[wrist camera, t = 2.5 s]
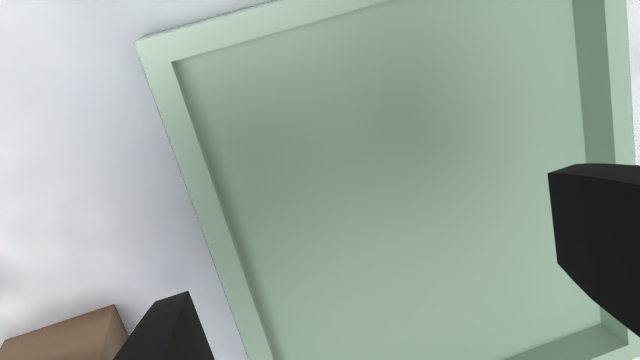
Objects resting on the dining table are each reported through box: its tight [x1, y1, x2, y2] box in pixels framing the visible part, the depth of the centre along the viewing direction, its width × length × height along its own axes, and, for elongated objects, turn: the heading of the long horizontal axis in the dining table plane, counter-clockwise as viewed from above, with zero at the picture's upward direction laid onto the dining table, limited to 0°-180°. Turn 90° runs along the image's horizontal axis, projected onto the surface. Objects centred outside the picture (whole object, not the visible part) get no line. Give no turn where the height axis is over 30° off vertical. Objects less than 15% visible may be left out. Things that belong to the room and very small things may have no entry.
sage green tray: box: [134, 0, 640, 360], centre depth 21 cm, size 18×16×2 cm
